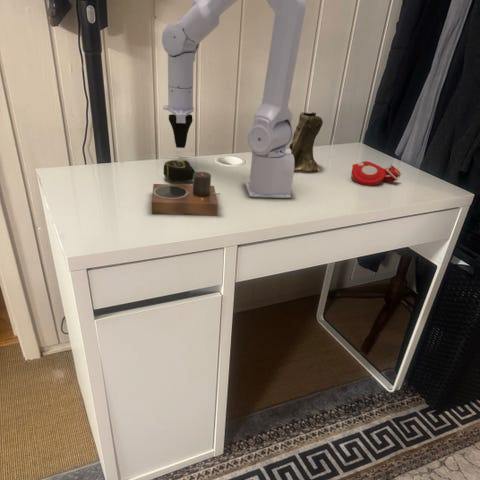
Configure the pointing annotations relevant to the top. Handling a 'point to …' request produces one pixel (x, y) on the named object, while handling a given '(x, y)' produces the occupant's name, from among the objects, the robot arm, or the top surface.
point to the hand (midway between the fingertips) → (180, 147)
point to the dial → (201, 184)
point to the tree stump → (305, 141)
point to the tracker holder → (373, 173)
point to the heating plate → (170, 192)
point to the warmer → (185, 202)
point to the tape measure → (178, 171)
